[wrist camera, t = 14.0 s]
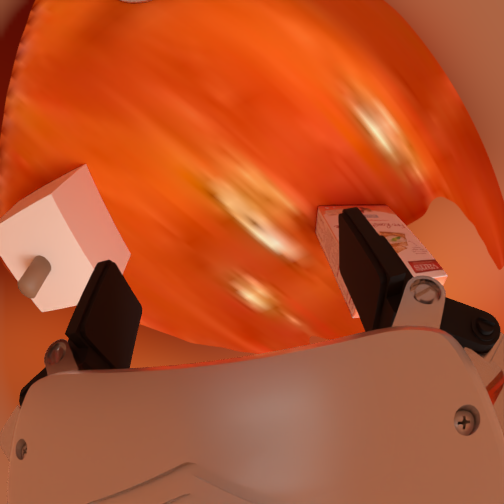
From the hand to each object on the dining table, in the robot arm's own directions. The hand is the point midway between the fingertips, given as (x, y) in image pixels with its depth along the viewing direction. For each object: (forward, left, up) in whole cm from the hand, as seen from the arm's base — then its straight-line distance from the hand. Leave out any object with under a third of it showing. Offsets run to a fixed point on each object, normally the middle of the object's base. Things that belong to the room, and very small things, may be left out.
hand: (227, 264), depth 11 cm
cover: (+8, -34, -33) cm, 48 cm away
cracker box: (+21, +17, -33) cm, 43 cm away
